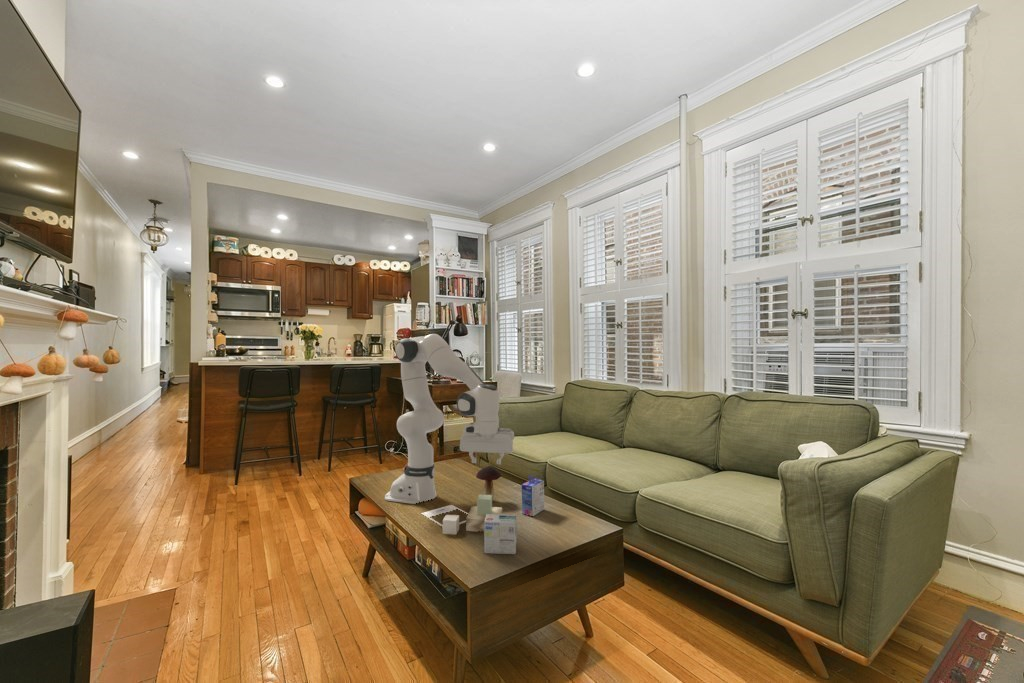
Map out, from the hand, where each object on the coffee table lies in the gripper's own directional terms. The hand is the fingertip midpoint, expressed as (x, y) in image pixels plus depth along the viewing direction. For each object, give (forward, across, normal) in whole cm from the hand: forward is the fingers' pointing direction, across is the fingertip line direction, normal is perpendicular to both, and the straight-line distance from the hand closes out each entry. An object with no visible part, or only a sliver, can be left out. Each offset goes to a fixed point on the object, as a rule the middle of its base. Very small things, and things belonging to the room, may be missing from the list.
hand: (486, 463), depth 164 cm
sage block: (+19, 0, 0) cm, 19 cm away
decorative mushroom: (+24, +3, -26) cm, 35 cm away
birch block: (+24, 0, -1) cm, 24 cm away
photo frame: (+24, +16, -7) cm, 30 cm away
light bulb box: (+23, -8, +18) cm, 31 cm away
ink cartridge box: (+24, -17, -16) cm, 33 cm away
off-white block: (+24, +12, +6) cm, 27 cm away
